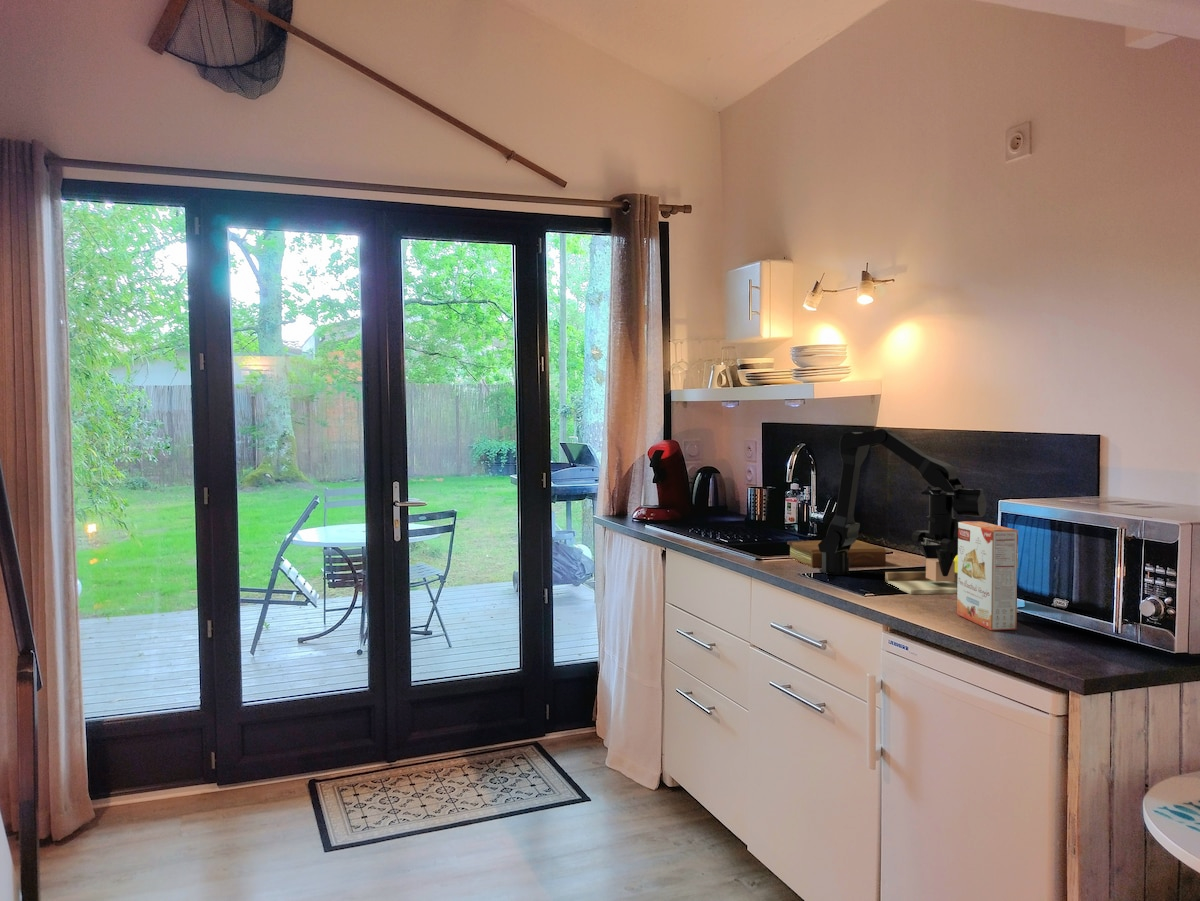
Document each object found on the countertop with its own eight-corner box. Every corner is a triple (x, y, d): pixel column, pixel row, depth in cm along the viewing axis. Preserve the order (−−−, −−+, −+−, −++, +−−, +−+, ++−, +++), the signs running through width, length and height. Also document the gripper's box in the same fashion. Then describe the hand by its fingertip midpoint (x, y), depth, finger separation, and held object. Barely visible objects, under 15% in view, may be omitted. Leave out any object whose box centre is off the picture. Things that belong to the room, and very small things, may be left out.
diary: (812, 570, 246) (812, 550, 246) (787, 559, 264) (787, 541, 264) (885, 567, 250) (885, 547, 250) (855, 557, 268) (855, 538, 268)
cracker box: (954, 615, 187) (956, 520, 186) (981, 615, 187) (983, 520, 186) (989, 631, 173) (991, 529, 172) (1017, 630, 173) (1019, 528, 172)
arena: (910, 594, 209) (911, 582, 209) (885, 583, 223) (885, 572, 223) (979, 592, 211) (979, 580, 211) (949, 582, 225) (949, 570, 225)
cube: (954, 581, 214) (954, 561, 214) (935, 581, 214) (936, 561, 214) (944, 577, 219) (944, 558, 219) (925, 577, 219) (926, 558, 219)
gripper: (991, 517, 208) (990, 580, 208) (951, 509, 226) (950, 567, 227) (948, 517, 206) (947, 581, 207) (911, 509, 225) (910, 568, 225)
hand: (939, 574), depth 216 cm, fingers closed on cube, 5 cm apart
